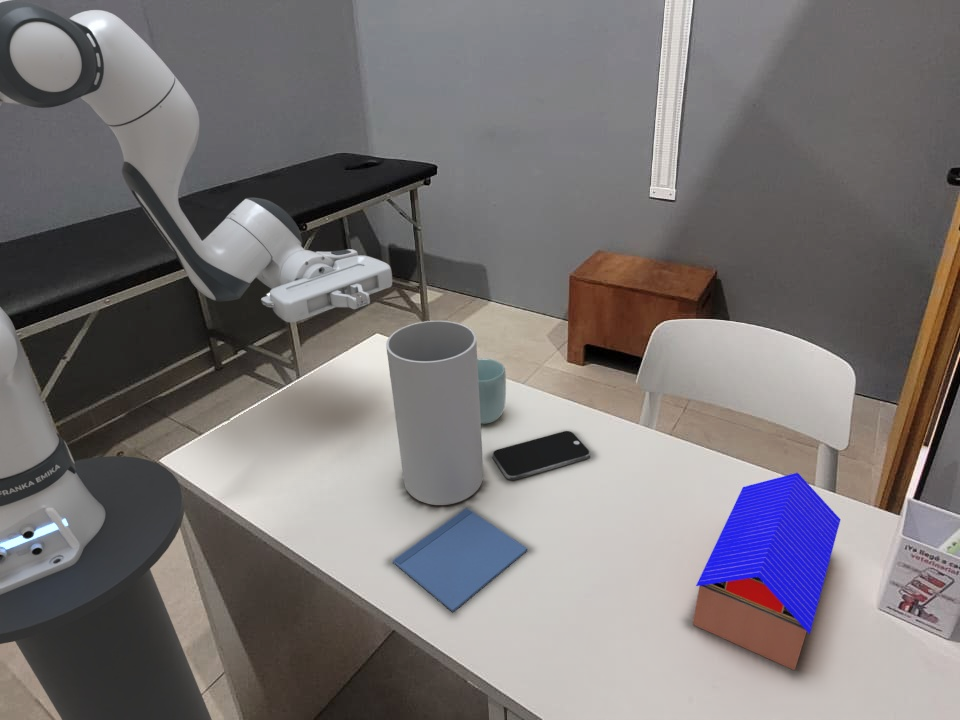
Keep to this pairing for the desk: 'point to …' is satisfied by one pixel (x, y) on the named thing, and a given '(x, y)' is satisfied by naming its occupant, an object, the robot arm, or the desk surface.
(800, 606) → the house
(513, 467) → the smartphone
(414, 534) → the desk surface
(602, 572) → the desk surface
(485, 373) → the cup
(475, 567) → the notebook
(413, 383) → the cylinder vase
